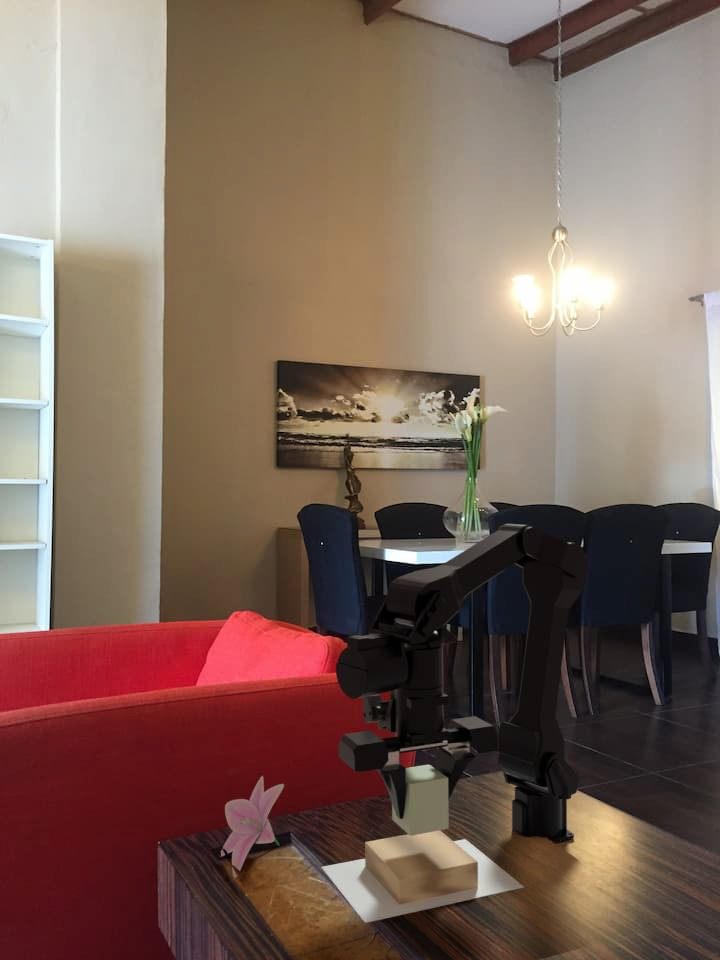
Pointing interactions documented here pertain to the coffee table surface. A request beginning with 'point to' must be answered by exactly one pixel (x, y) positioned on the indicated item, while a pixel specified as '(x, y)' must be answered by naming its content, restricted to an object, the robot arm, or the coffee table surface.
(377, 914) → the white rectangular plate
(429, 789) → the top block
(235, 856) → the lily
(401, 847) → the base block
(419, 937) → the coffee table surface
